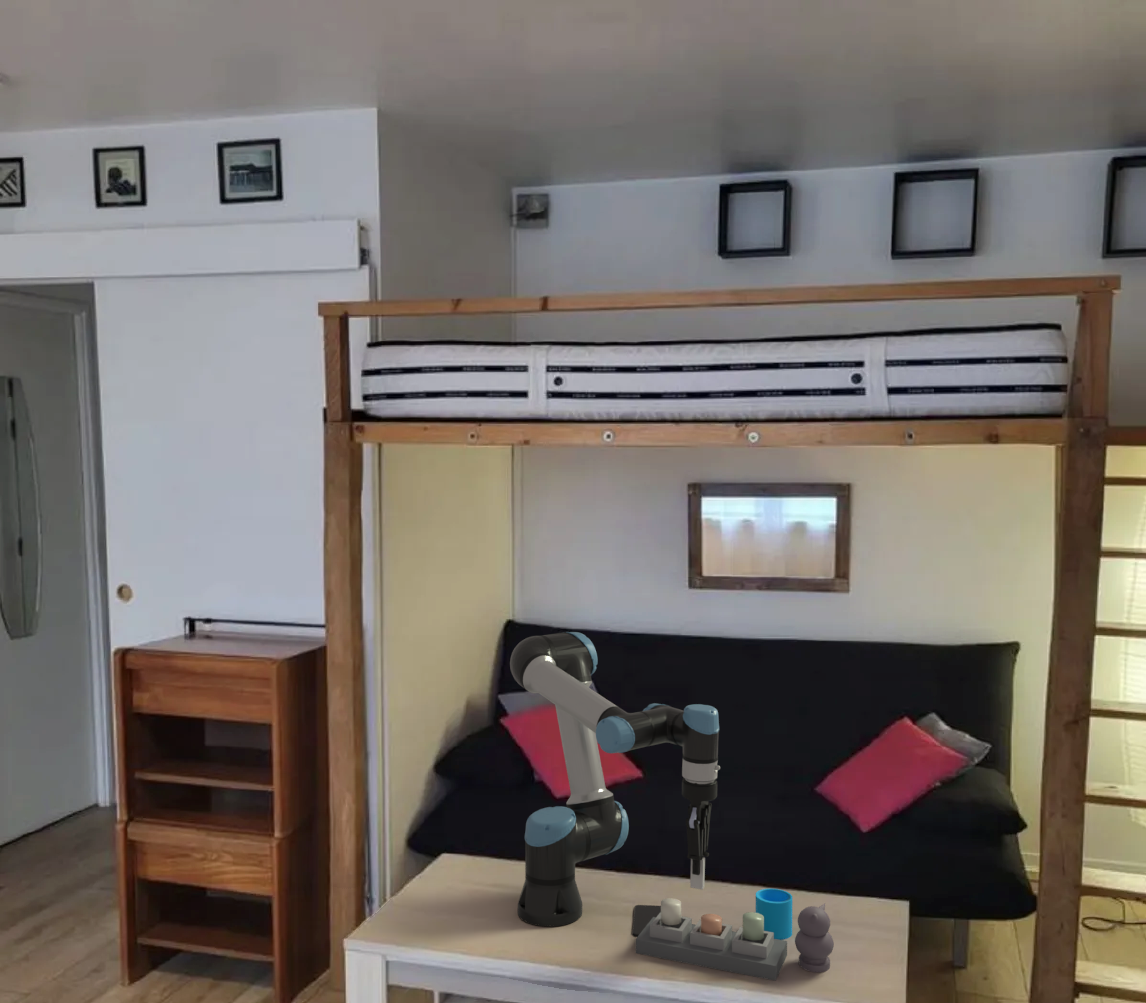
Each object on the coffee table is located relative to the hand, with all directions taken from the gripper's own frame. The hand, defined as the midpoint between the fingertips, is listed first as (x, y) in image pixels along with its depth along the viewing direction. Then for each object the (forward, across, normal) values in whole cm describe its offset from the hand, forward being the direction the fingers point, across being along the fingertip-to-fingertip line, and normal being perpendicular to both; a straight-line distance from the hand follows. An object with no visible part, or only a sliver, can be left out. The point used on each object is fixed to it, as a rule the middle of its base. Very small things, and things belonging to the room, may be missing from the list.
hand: (697, 887), depth 215 cm
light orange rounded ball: (+10, -1, -3) cm, 11 cm away
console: (+14, -1, -4) cm, 14 cm away
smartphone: (+15, +10, +13) cm, 22 cm away
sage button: (+8, -1, -12) cm, 15 cm away
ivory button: (+8, 0, +6) cm, 10 cm away
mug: (+14, +17, -14) cm, 26 cm away
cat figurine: (+14, +3, -25) cm, 28 cm away
